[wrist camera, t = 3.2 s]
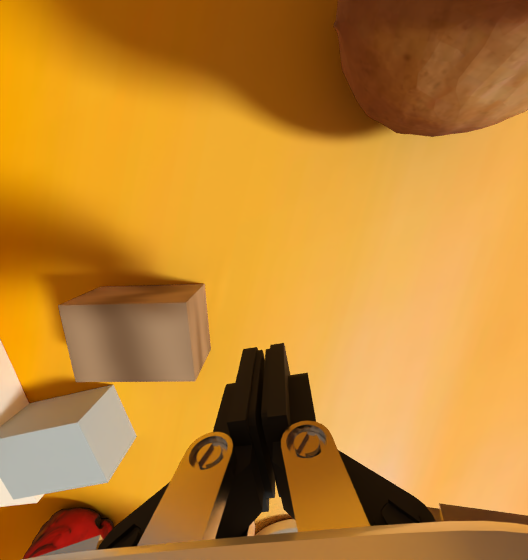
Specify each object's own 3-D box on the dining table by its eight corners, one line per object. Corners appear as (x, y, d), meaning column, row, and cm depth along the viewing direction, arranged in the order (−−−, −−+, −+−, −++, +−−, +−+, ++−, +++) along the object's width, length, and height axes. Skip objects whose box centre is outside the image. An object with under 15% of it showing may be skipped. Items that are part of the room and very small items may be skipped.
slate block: (114, 383, 27) (77, 422, 22) (137, 434, 28) (107, 482, 23) (31, 401, 28) (-22, 443, 23) (57, 450, 29) (13, 499, 24)
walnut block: (205, 283, 24) (186, 302, 19) (211, 348, 25) (195, 381, 20) (102, 286, 24) (58, 305, 19) (114, 349, 26) (75, 381, 21)
